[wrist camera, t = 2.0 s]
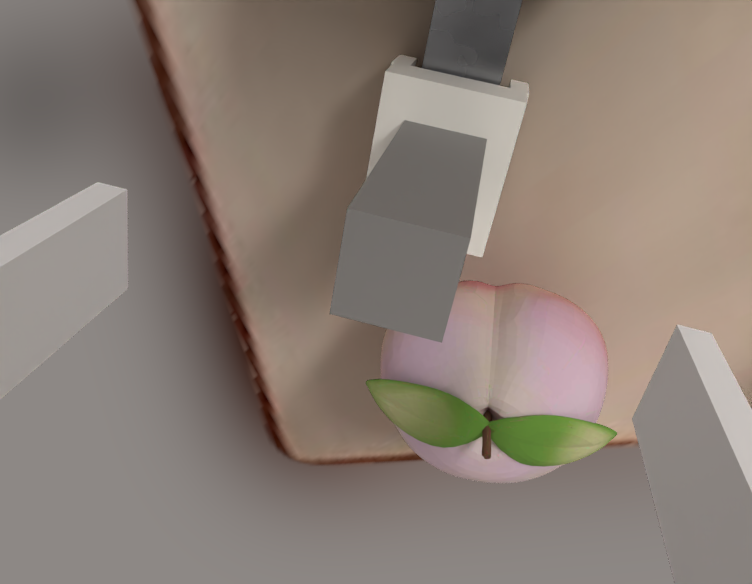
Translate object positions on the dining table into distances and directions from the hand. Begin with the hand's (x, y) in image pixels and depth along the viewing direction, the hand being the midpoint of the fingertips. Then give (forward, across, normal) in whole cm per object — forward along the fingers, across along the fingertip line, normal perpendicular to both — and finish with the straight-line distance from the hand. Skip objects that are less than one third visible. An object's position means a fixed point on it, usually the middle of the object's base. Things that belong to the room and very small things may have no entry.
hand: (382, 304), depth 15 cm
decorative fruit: (+15, +4, -8) cm, 17 cm away
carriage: (+14, 0, 0) cm, 14 cm away
